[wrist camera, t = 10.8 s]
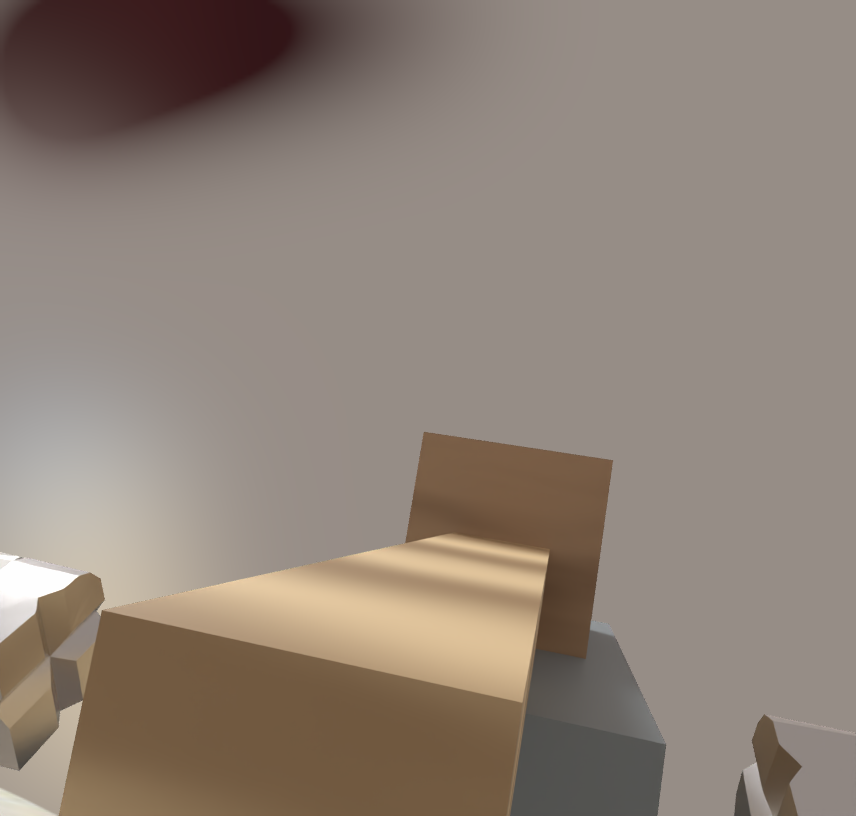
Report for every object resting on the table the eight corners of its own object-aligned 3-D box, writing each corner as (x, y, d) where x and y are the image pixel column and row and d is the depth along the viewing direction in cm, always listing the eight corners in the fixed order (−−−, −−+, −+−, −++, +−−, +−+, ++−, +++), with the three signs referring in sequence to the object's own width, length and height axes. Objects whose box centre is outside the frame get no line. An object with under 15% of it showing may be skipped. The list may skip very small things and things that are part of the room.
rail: (716, 1327, 5) (827, 270, 5) (-177, 999, 6) (16, 194, 7) (579, 626, 32) (601, 470, 33) (426, 597, 33) (450, 447, 34)
